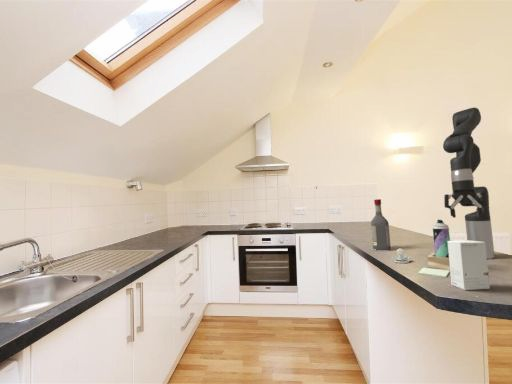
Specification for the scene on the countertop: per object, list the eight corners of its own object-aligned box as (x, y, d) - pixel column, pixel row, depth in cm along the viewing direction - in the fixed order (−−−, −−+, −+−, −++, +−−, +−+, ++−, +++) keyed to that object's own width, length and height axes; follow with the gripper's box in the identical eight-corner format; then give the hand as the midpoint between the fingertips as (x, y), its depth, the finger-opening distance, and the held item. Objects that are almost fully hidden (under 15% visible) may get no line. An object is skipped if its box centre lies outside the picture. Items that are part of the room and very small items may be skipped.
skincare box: (464, 290, 79) (459, 242, 80) (450, 284, 85) (445, 240, 86) (491, 289, 79) (486, 241, 80) (475, 283, 85) (470, 238, 86)
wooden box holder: (433, 264, 112) (432, 252, 113) (460, 266, 106) (459, 254, 106) (428, 268, 105) (427, 256, 106) (457, 272, 99) (456, 259, 99)
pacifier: (411, 264, 115) (409, 261, 121) (410, 250, 115) (408, 247, 121) (393, 263, 118) (392, 260, 124) (392, 250, 118) (390, 247, 124)
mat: (423, 268, 106) (423, 267, 106) (449, 271, 100) (449, 270, 100) (417, 273, 100) (417, 272, 100) (446, 277, 93) (446, 275, 93)
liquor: (389, 248, 155) (385, 199, 156) (391, 250, 146) (386, 198, 148) (372, 247, 158) (368, 199, 160) (373, 250, 149) (369, 199, 151)
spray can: (437, 265, 109) (432, 219, 110) (453, 267, 106) (448, 219, 107) (436, 268, 105) (431, 220, 106) (452, 270, 102) (447, 220, 103)
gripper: (480, 179, 112) (484, 216, 110) (441, 182, 118) (444, 217, 117) (486, 177, 105) (490, 216, 104) (443, 180, 112) (447, 217, 110)
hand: (466, 217), depth 110 cm, fingers open, 8 cm apart
